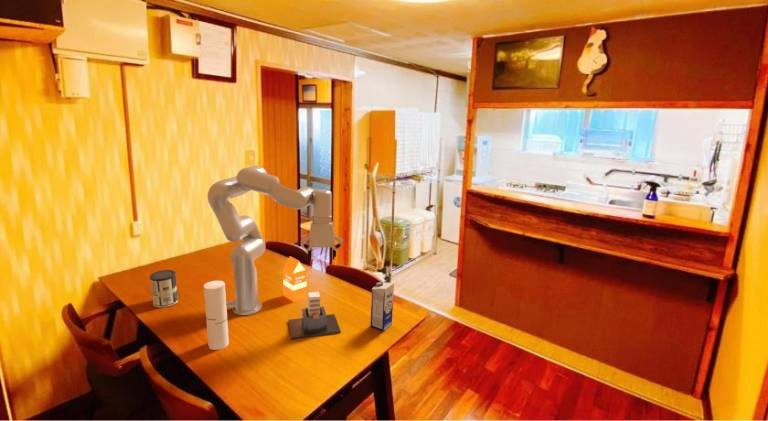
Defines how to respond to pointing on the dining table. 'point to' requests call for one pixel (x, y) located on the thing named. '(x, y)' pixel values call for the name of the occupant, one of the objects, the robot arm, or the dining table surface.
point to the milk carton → (382, 306)
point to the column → (313, 303)
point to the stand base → (313, 325)
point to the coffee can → (164, 288)
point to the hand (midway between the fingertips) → (322, 258)
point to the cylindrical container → (216, 314)
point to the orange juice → (294, 280)
